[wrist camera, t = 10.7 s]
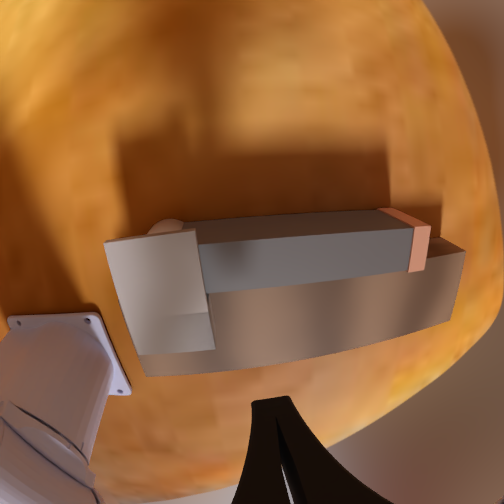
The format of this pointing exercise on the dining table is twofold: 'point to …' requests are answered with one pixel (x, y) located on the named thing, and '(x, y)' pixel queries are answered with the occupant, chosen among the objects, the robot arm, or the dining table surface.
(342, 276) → the stool leg
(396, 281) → the rail
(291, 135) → the dining table surface
